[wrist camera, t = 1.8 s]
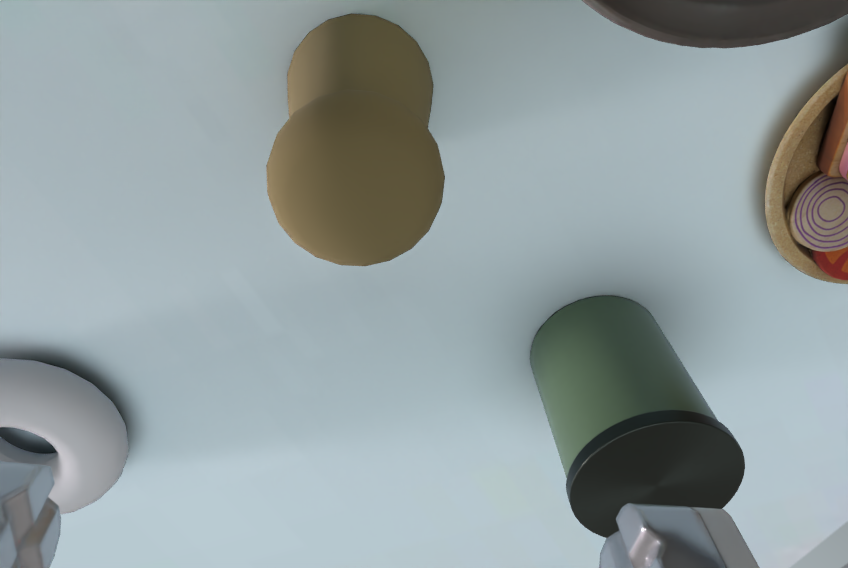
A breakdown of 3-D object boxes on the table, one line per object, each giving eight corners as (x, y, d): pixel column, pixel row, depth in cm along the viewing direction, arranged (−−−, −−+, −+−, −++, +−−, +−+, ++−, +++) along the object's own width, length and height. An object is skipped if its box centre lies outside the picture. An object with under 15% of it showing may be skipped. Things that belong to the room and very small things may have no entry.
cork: (274, 20, 26) (219, 107, 16) (428, 7, 26) (461, 86, 17) (299, 165, 29) (265, 307, 20) (437, 153, 29) (468, 288, 20)
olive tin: (511, 395, 37) (549, 538, 29) (546, 284, 33) (600, 414, 25) (635, 405, 38) (704, 546, 30) (683, 299, 34) (775, 428, 26)
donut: (16, 309, 32) (-105, 411, 35) (-18, 352, 29) (-148, 461, 32) (176, 423, 37) (58, 507, 39) (160, 471, 34) (34, 557, 36)
